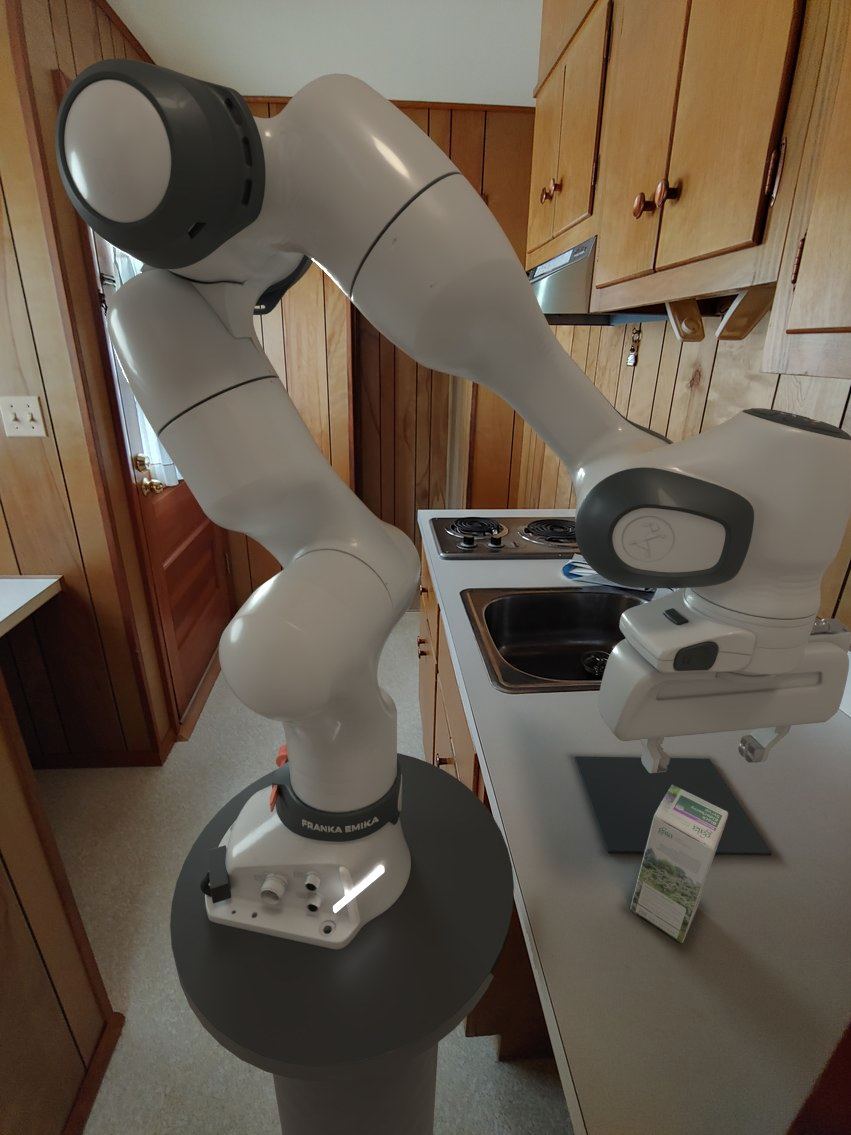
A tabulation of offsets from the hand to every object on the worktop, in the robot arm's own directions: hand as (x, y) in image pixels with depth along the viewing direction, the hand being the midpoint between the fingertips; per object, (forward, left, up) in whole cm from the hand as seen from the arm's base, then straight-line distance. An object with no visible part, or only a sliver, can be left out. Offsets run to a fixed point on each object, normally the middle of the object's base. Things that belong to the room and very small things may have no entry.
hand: (702, 762), depth 49 cm
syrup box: (+2, +3, -23) cm, 24 cm away
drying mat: (+8, +18, -23) cm, 30 cm away
